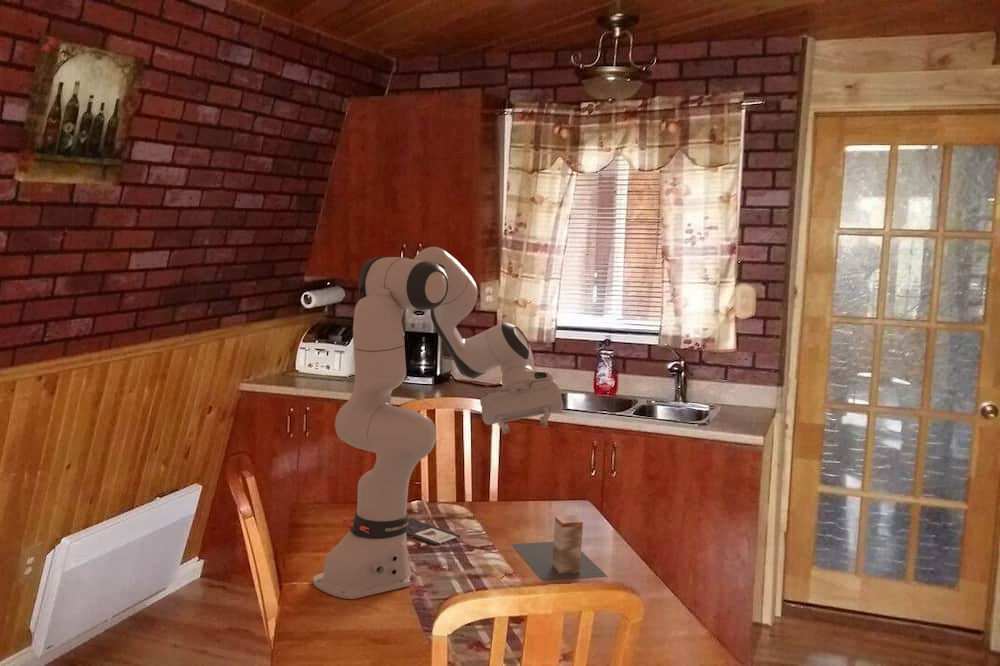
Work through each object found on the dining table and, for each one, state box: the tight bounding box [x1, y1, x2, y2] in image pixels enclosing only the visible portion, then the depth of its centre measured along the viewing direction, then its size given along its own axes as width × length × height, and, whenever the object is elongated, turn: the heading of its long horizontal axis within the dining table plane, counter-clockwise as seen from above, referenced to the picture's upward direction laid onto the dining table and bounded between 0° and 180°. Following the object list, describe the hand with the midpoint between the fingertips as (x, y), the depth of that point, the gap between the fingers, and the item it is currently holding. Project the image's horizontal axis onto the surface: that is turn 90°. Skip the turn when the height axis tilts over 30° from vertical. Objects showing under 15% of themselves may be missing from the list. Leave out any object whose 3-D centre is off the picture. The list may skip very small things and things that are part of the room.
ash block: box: [552, 515, 584, 573], centre depth 213 cm, size 5×5×12 cm
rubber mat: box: [510, 541, 608, 582], centre depth 219 cm, size 24×16×1 cm, turn 17°
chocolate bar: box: [406, 518, 461, 546], centre depth 236 cm, size 9×1×18 cm
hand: (524, 428), depth 220 cm, fingers open, 8 cm apart
